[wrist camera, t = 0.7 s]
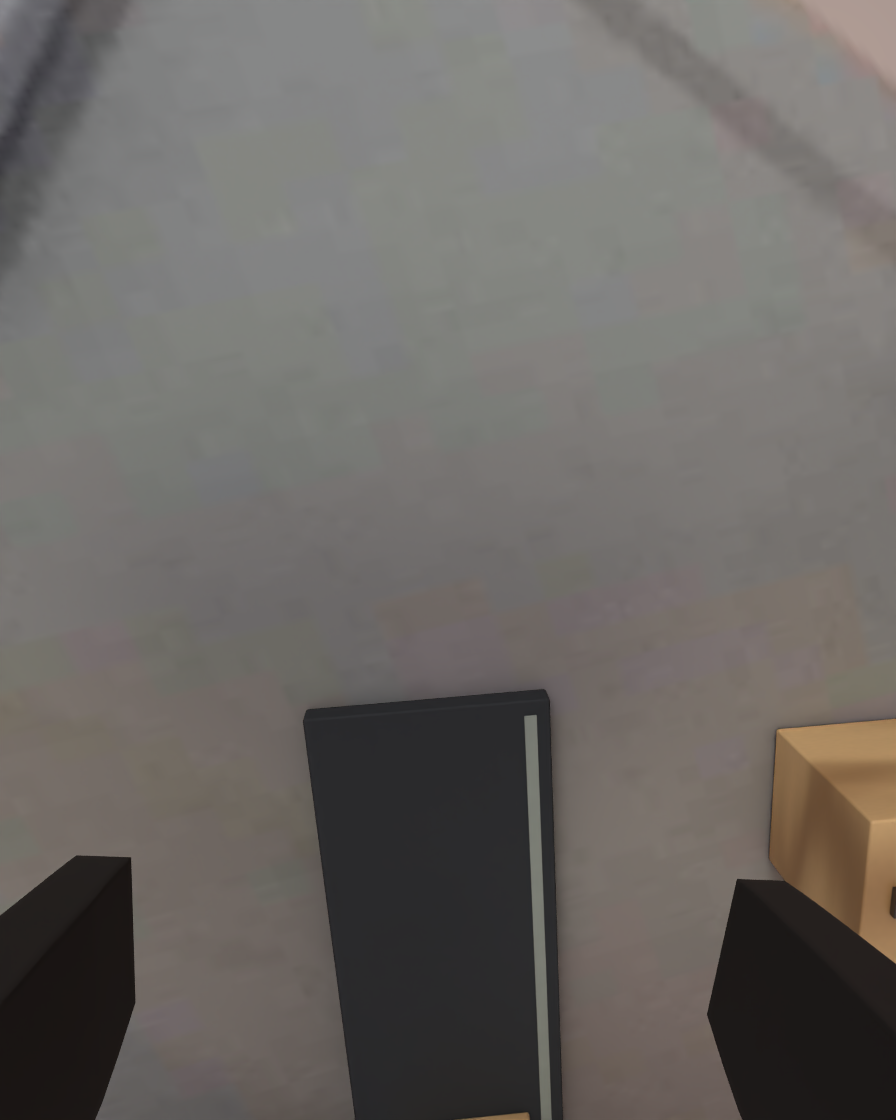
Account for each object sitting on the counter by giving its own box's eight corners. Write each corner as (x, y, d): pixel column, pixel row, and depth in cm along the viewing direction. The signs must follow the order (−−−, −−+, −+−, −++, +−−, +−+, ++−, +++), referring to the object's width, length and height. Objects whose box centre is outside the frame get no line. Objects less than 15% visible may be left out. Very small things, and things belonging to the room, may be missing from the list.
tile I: (909, 845, 20) (1036, 966, 16) (768, 859, 20) (859, 984, 16) (924, 714, 19) (1064, 809, 15) (775, 728, 19) (876, 826, 15)
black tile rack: (562, 1194, 23) (566, 1217, 22) (371, 1216, 22) (370, 1240, 22) (545, 688, 18) (550, 699, 17) (305, 708, 18) (301, 720, 17)
